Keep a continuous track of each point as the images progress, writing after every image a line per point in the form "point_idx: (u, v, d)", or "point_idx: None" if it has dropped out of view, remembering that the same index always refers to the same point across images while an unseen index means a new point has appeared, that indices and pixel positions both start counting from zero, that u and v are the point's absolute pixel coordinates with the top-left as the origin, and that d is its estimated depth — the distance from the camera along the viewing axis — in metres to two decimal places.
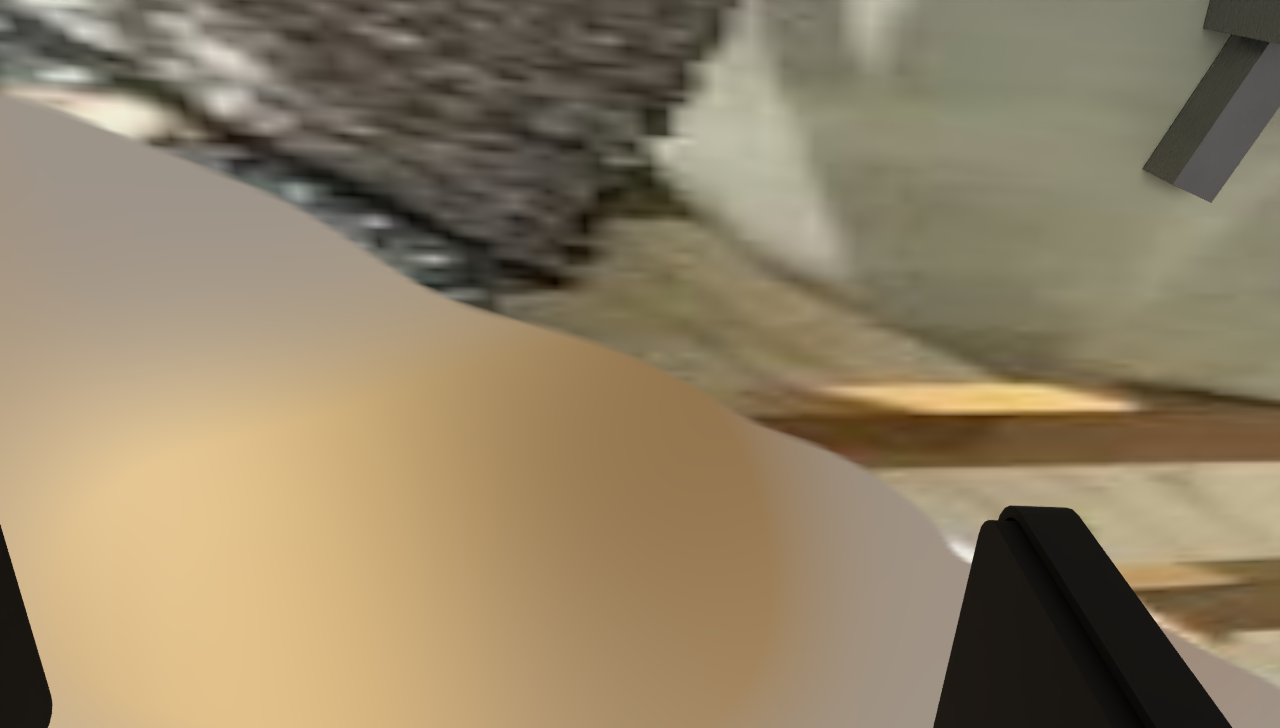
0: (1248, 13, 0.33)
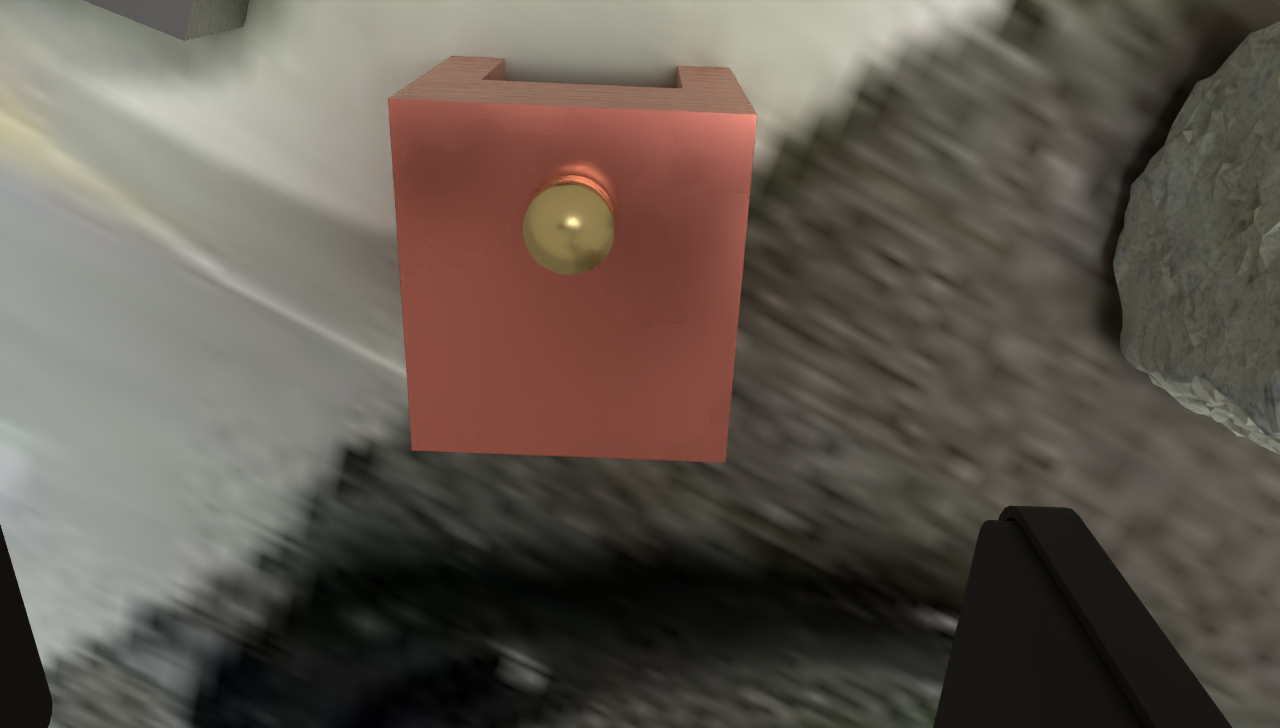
0: None
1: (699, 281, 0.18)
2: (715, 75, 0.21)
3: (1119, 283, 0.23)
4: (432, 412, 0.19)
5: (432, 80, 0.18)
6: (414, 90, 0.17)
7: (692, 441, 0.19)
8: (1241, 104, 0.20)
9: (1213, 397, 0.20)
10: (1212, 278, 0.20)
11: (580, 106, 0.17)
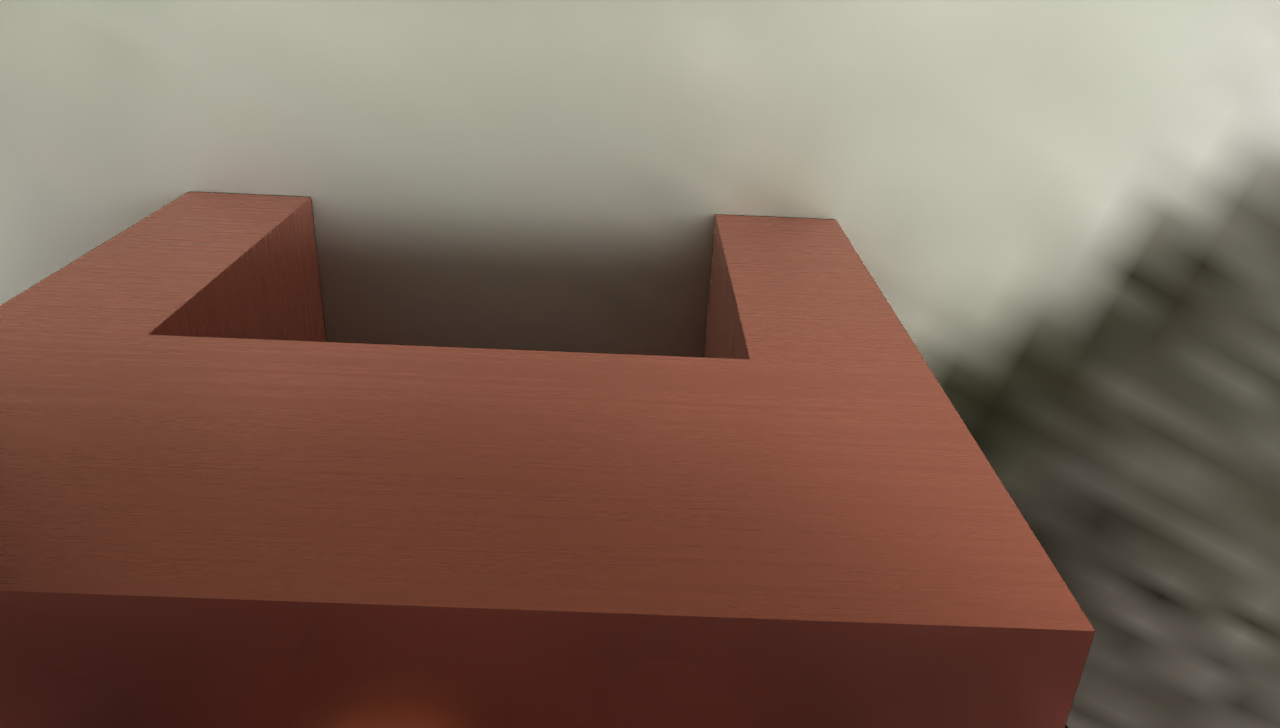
0: None
1: None
2: (816, 262, 0.08)
3: None
4: None
5: None
6: None
7: None
8: None
9: None
10: None
11: (370, 592, 0.04)
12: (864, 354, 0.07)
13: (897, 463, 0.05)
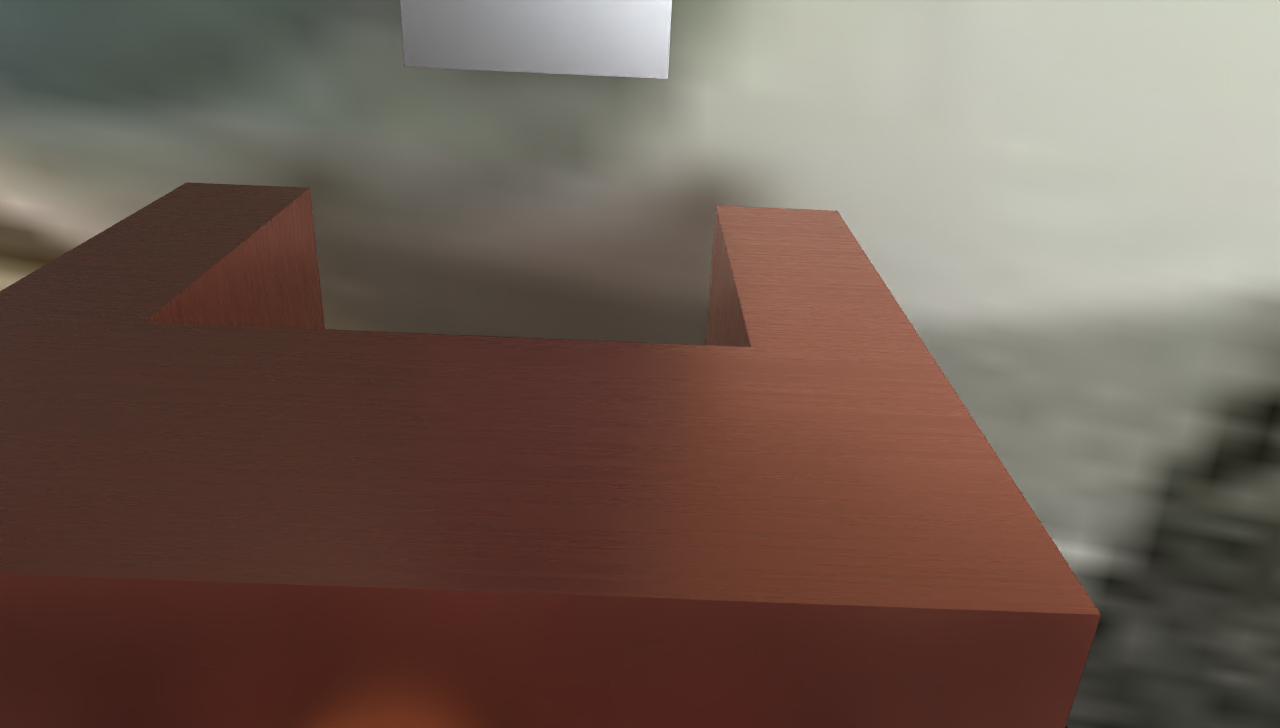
0: None
1: None
2: (817, 252, 0.08)
3: None
4: None
5: None
6: None
7: None
8: None
9: None
10: None
11: (368, 575, 0.04)
12: (866, 342, 0.06)
13: (900, 449, 0.05)
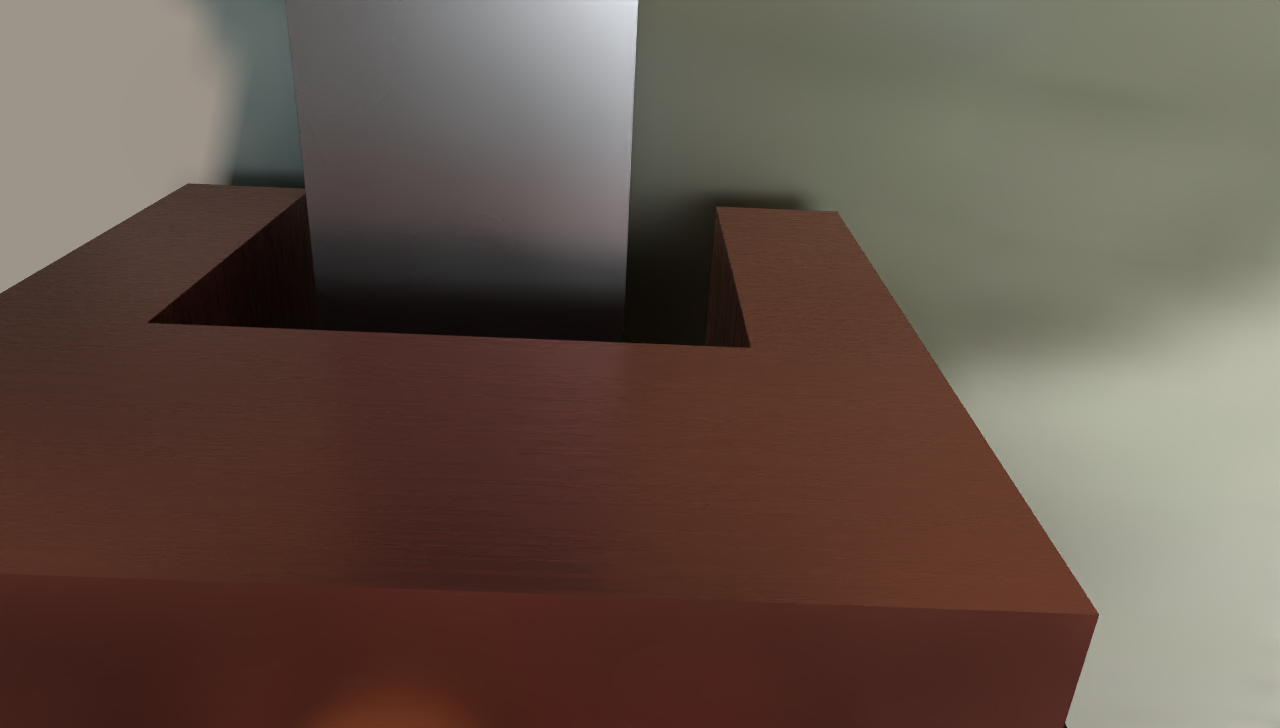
0: None
1: None
2: (817, 253, 0.08)
3: None
4: None
5: None
6: None
7: None
8: None
9: None
10: None
11: (369, 575, 0.04)
12: (866, 343, 0.06)
13: (899, 449, 0.05)
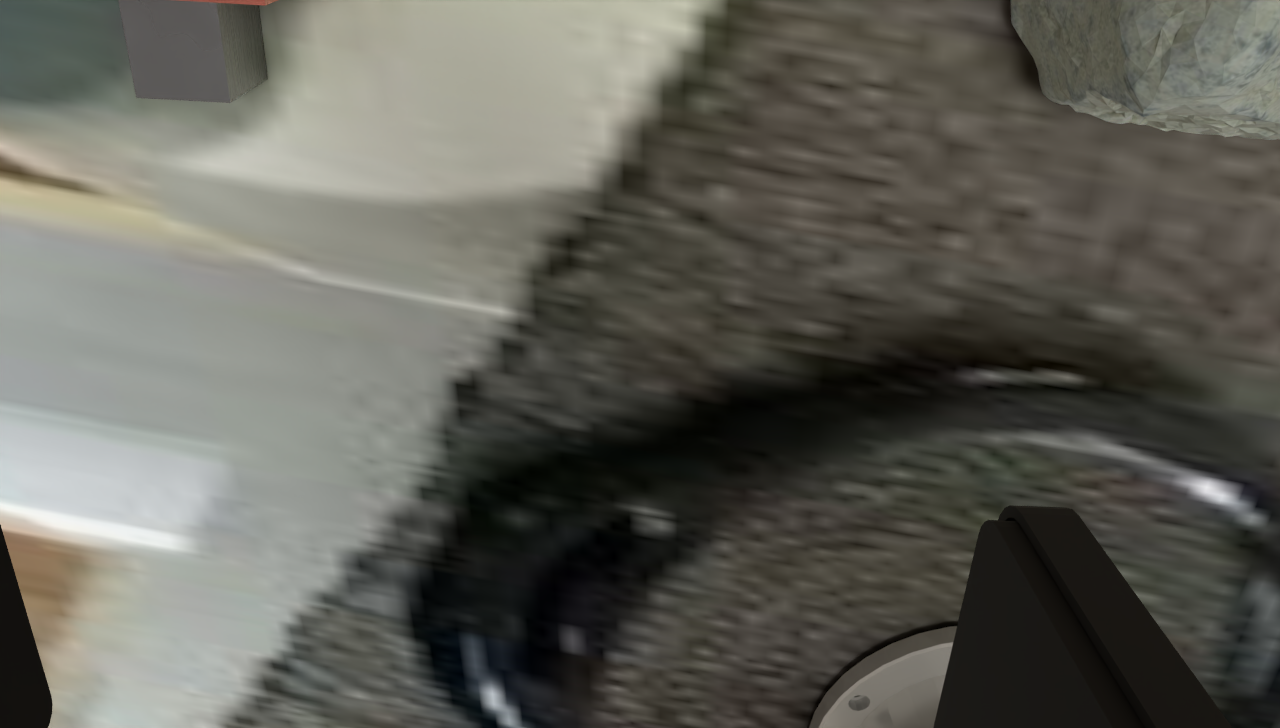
0: None
1: None
2: None
3: (1022, 37, 0.27)
4: None
5: None
6: None
7: None
8: None
9: (1104, 102, 0.23)
10: (1072, 6, 0.23)
11: None
12: None
13: None
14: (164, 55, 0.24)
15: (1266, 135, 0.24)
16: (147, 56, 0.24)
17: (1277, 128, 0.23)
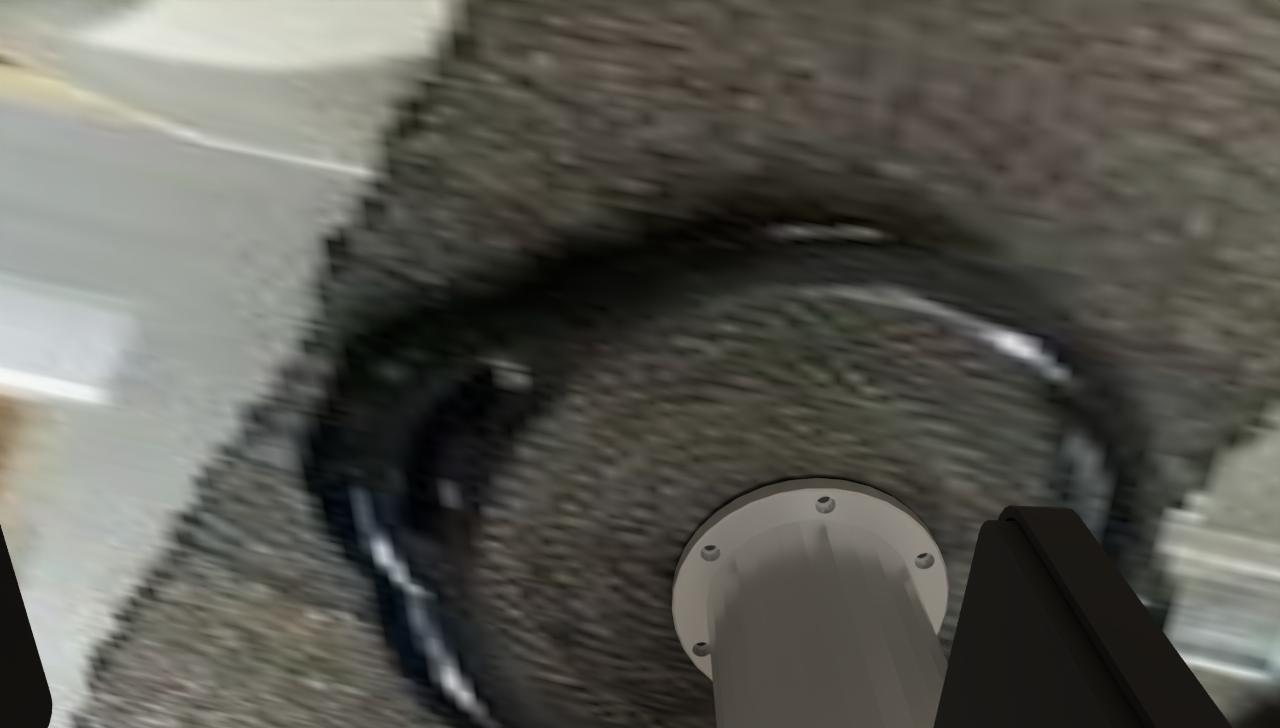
0: None
1: None
2: None
3: None
4: None
5: None
6: None
7: None
8: None
9: None
10: None
11: None
12: None
13: None
14: None
15: None
16: None
17: None
